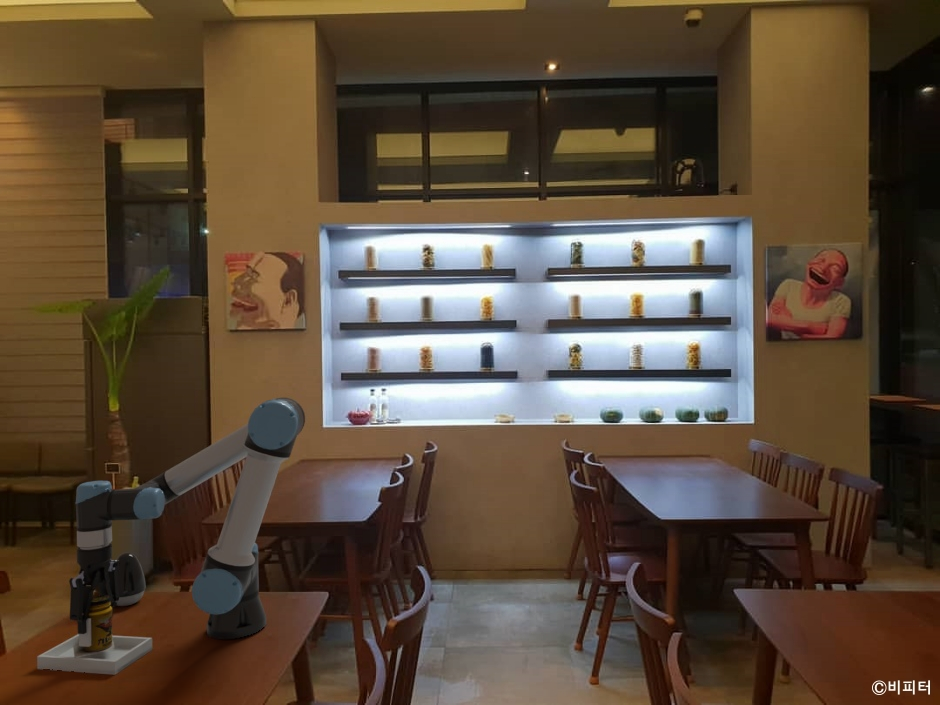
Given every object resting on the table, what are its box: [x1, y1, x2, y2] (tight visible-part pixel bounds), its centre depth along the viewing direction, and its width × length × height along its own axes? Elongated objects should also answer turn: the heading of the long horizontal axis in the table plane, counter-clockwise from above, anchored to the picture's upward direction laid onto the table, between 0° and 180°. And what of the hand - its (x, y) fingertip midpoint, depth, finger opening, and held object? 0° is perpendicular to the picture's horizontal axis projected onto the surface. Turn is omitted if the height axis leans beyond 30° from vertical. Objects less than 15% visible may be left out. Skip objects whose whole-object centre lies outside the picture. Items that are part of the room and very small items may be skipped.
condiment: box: [73, 594, 115, 657], centre depth 158 cm, size 7×8×12 cm
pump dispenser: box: [109, 552, 146, 607], centre depth 196 cm, size 10×10×15 cm
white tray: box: [36, 633, 153, 676], centre depth 159 cm, size 21×13×3 cm, turn 80°
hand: (96, 639), depth 159 cm, fingers closed on condiment, 6 cm apart
